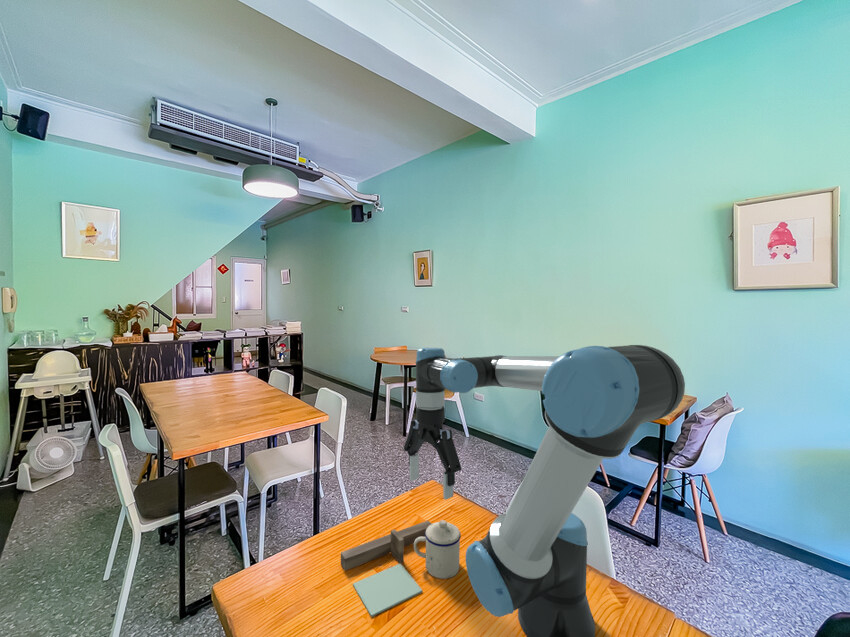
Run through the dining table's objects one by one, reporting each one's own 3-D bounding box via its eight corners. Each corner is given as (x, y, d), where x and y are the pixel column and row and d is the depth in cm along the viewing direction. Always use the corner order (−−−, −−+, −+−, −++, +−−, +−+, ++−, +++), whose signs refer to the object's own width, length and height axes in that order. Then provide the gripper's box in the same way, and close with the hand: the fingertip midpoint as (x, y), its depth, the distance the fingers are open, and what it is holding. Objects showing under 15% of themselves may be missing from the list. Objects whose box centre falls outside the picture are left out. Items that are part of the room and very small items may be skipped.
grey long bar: (443, 545, 99) (443, 523, 99) (352, 583, 84) (352, 558, 84) (427, 530, 106) (428, 510, 106) (340, 563, 91) (340, 540, 91)
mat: (422, 591, 82) (422, 590, 82) (371, 617, 75) (371, 615, 75) (400, 564, 91) (400, 563, 91) (352, 585, 84) (352, 583, 84)
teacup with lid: (459, 556, 94) (460, 513, 94) (460, 581, 85) (461, 534, 85) (415, 553, 95) (416, 510, 95) (411, 578, 86) (411, 530, 86)
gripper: (475, 413, 86) (475, 501, 85) (412, 397, 105) (412, 468, 104) (453, 418, 81) (453, 512, 80) (391, 400, 100) (391, 475, 100)
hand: (430, 487), depth 92 cm, fingers open, 13 cm apart
